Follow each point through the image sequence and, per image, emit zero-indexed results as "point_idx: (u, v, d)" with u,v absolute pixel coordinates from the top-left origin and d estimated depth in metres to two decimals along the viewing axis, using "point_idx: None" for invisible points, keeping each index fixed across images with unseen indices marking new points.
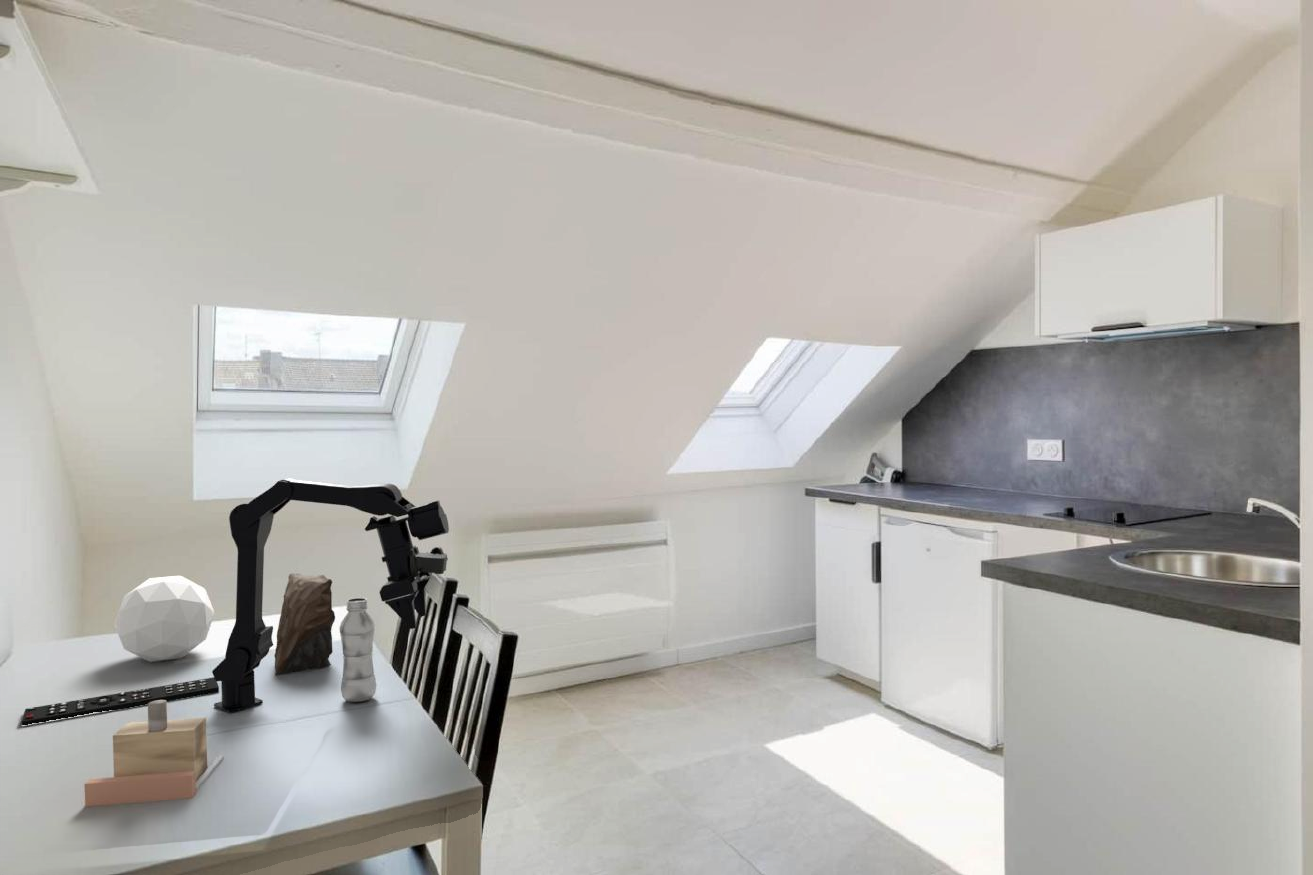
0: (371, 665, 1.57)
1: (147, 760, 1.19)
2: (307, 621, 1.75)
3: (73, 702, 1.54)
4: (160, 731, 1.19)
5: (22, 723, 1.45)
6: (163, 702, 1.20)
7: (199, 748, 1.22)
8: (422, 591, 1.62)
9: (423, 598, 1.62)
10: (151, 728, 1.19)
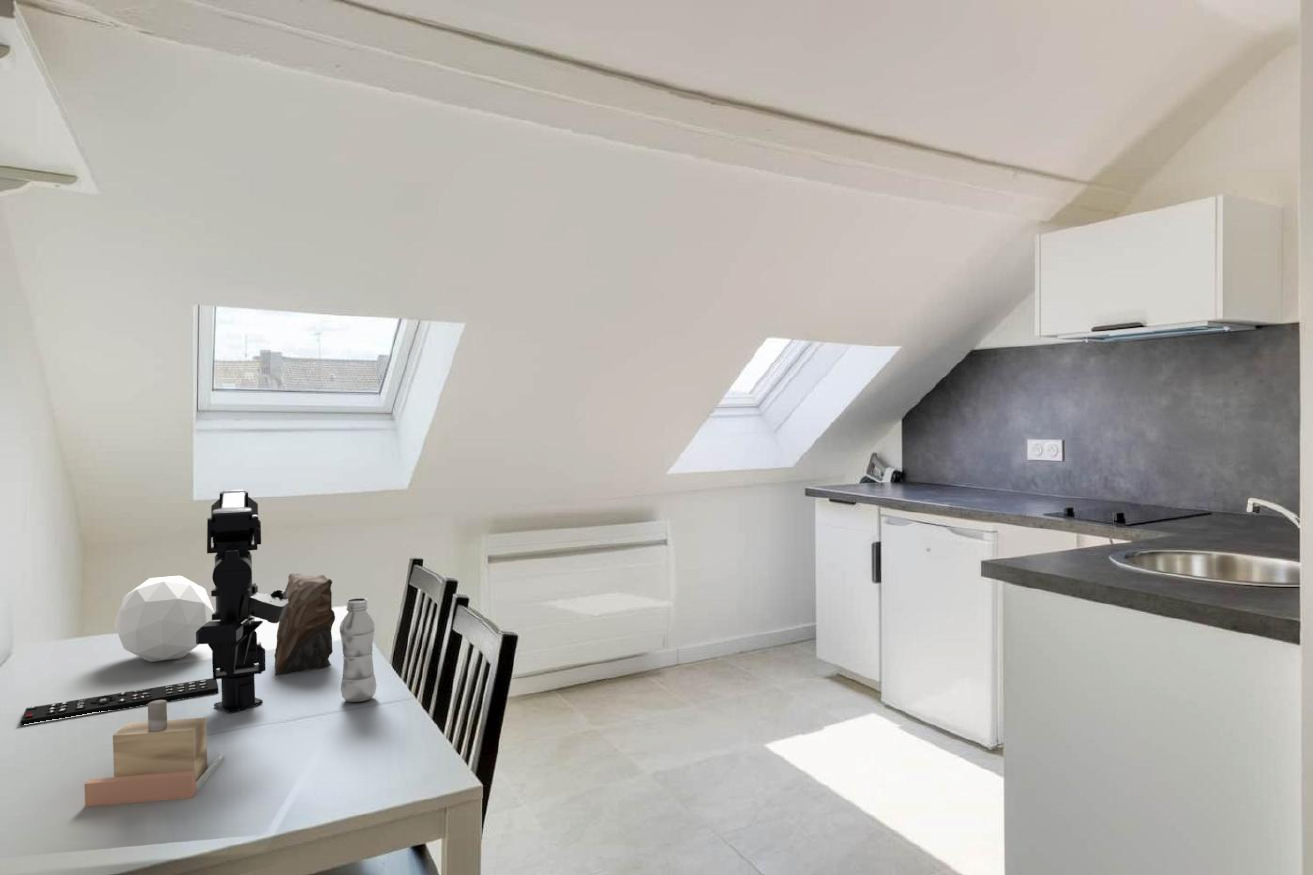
0: (371, 665, 1.57)
1: (147, 760, 1.19)
2: (307, 621, 1.75)
3: (74, 701, 1.54)
4: (160, 731, 1.19)
5: (22, 722, 1.45)
6: (163, 702, 1.20)
7: (199, 748, 1.22)
8: (247, 637, 1.42)
9: (246, 645, 1.42)
10: (151, 728, 1.19)
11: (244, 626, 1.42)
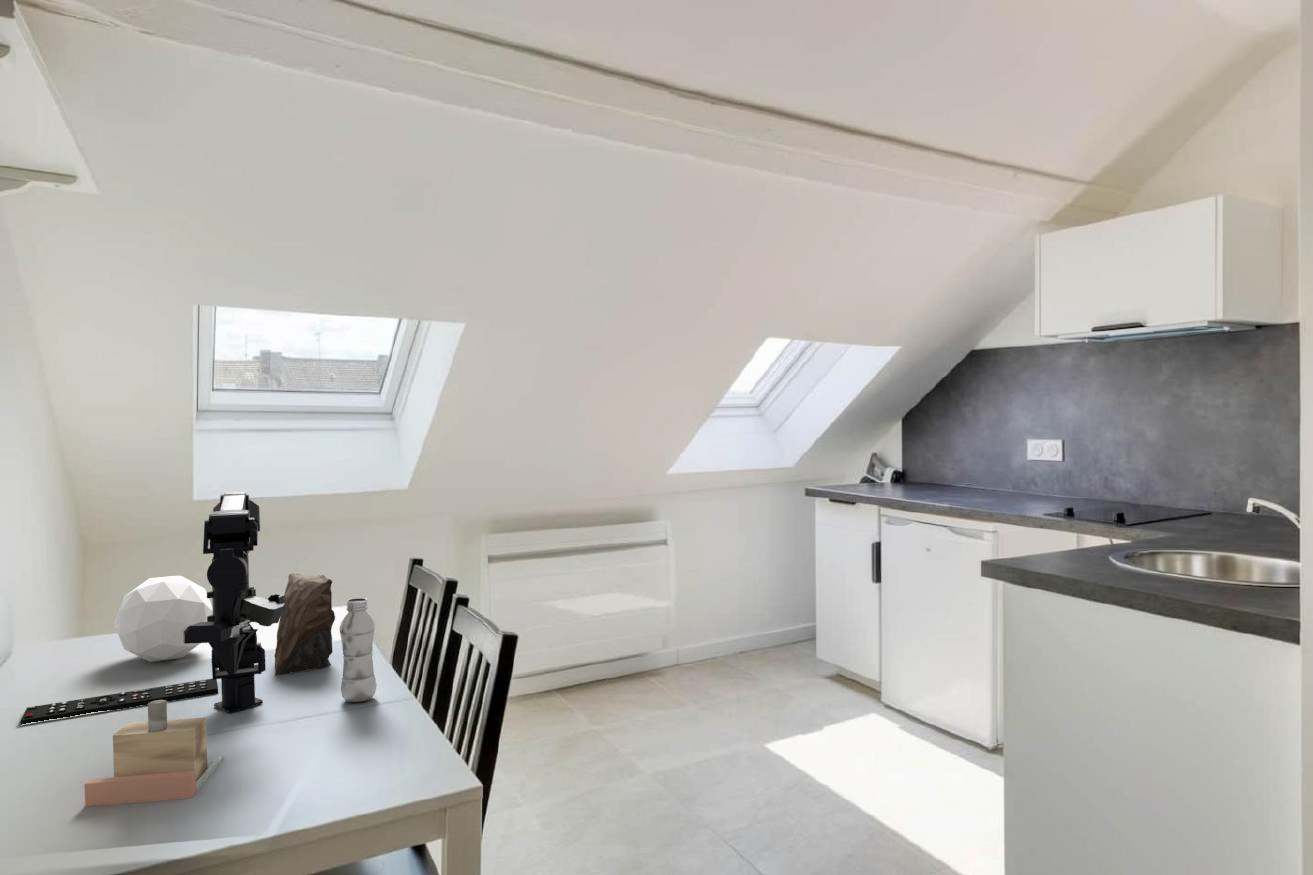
0: (371, 665, 1.57)
1: (147, 760, 1.19)
2: (307, 621, 1.75)
3: (74, 701, 1.55)
4: (160, 731, 1.19)
5: (21, 722, 1.45)
6: (163, 702, 1.20)
7: (199, 748, 1.22)
8: (239, 644, 1.39)
9: (238, 653, 1.39)
10: (151, 728, 1.19)
11: None
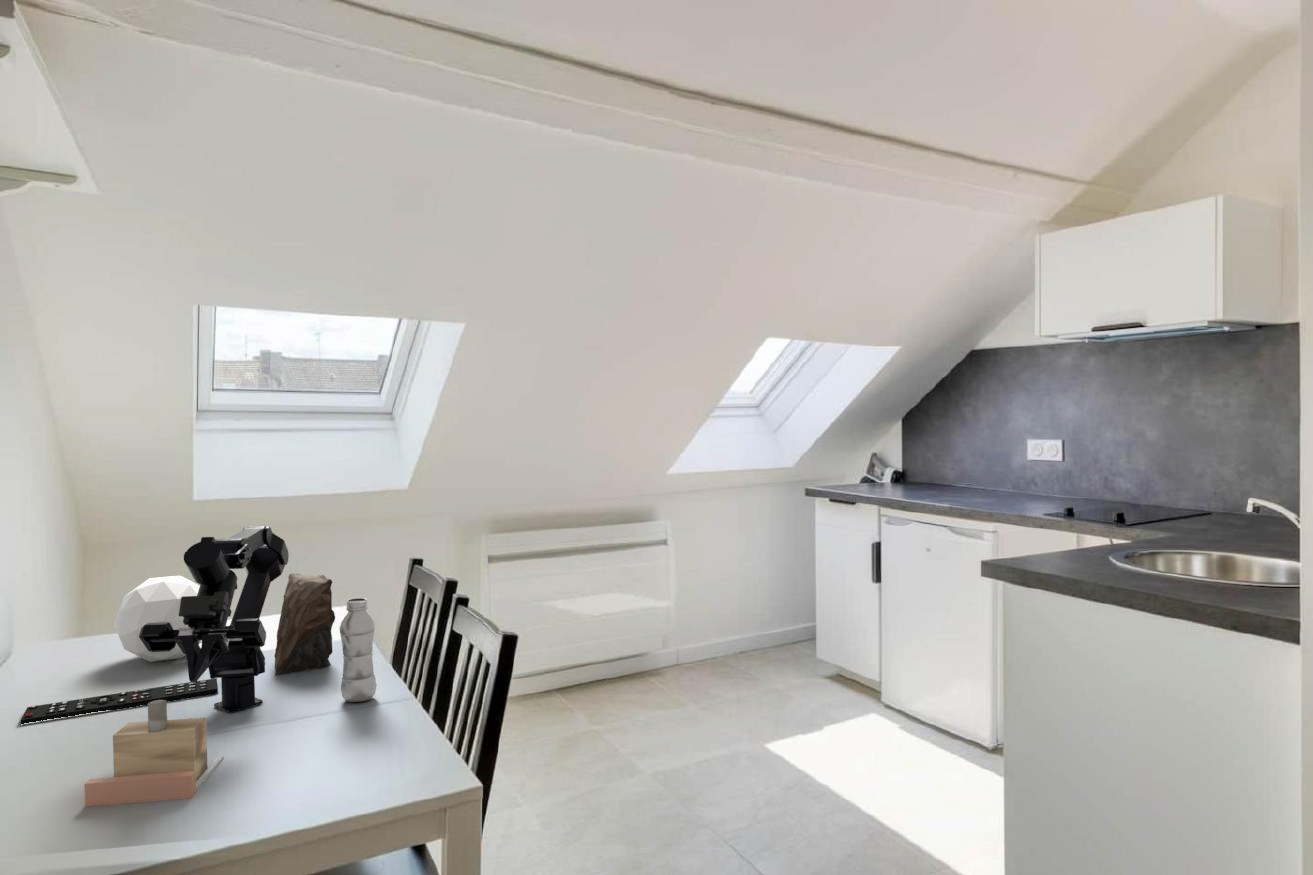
0: (371, 665, 1.57)
1: (147, 760, 1.19)
2: (307, 621, 1.75)
3: (74, 701, 1.55)
4: (160, 731, 1.19)
5: (21, 721, 1.45)
6: (163, 702, 1.20)
7: (199, 748, 1.22)
8: None
9: None
10: (151, 728, 1.19)
11: None
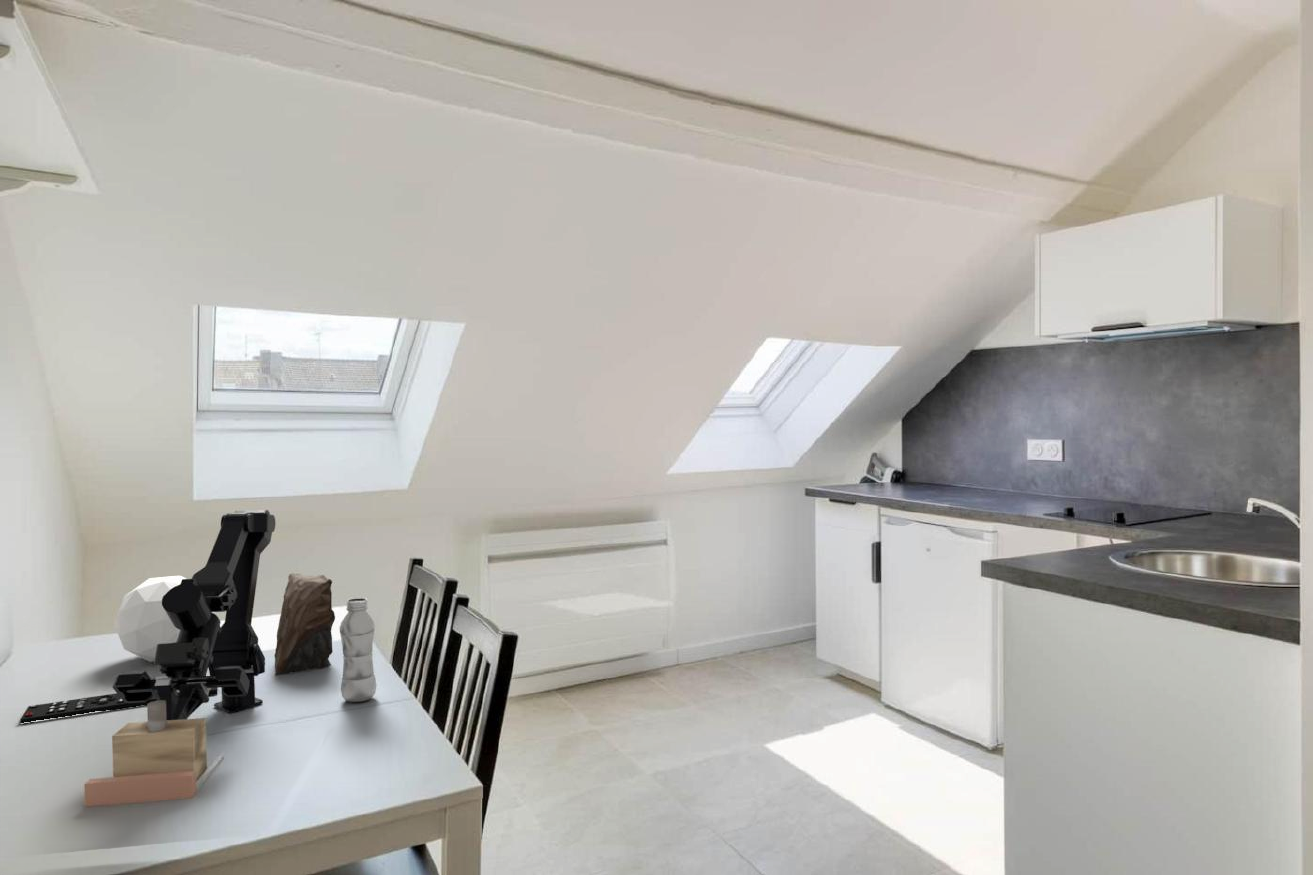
0: (371, 665, 1.57)
1: (147, 760, 1.19)
2: (307, 621, 1.75)
3: (75, 700, 1.55)
4: (159, 732, 1.19)
5: (21, 721, 1.46)
6: (162, 702, 1.20)
7: (199, 748, 1.22)
8: None
9: None
10: (150, 729, 1.19)
11: None
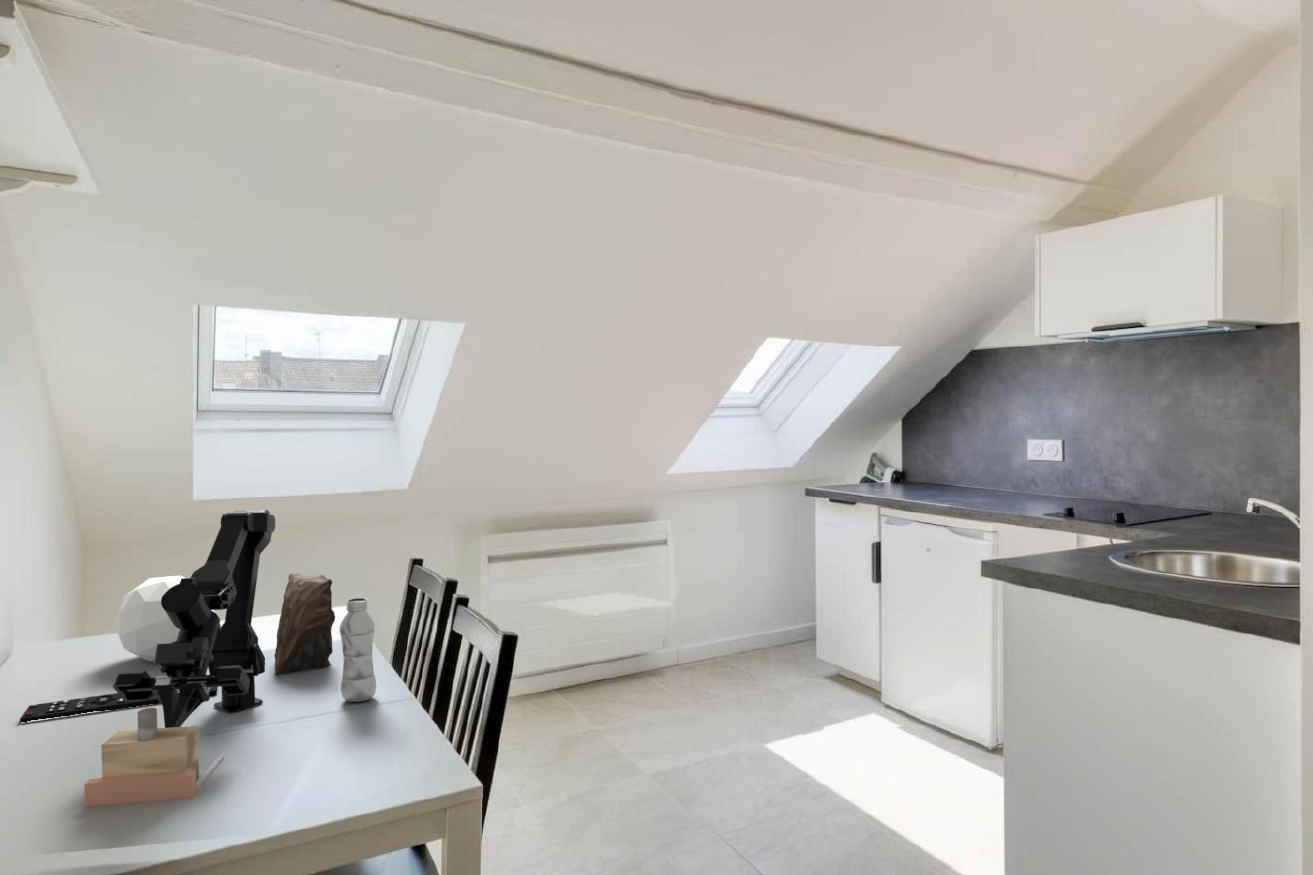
0: (371, 665, 1.57)
1: (137, 770, 1.15)
2: (307, 621, 1.75)
3: (76, 700, 1.55)
4: (150, 740, 1.16)
5: (21, 720, 1.46)
6: (153, 710, 1.17)
7: (190, 757, 1.19)
8: None
9: None
10: (141, 737, 1.16)
11: None
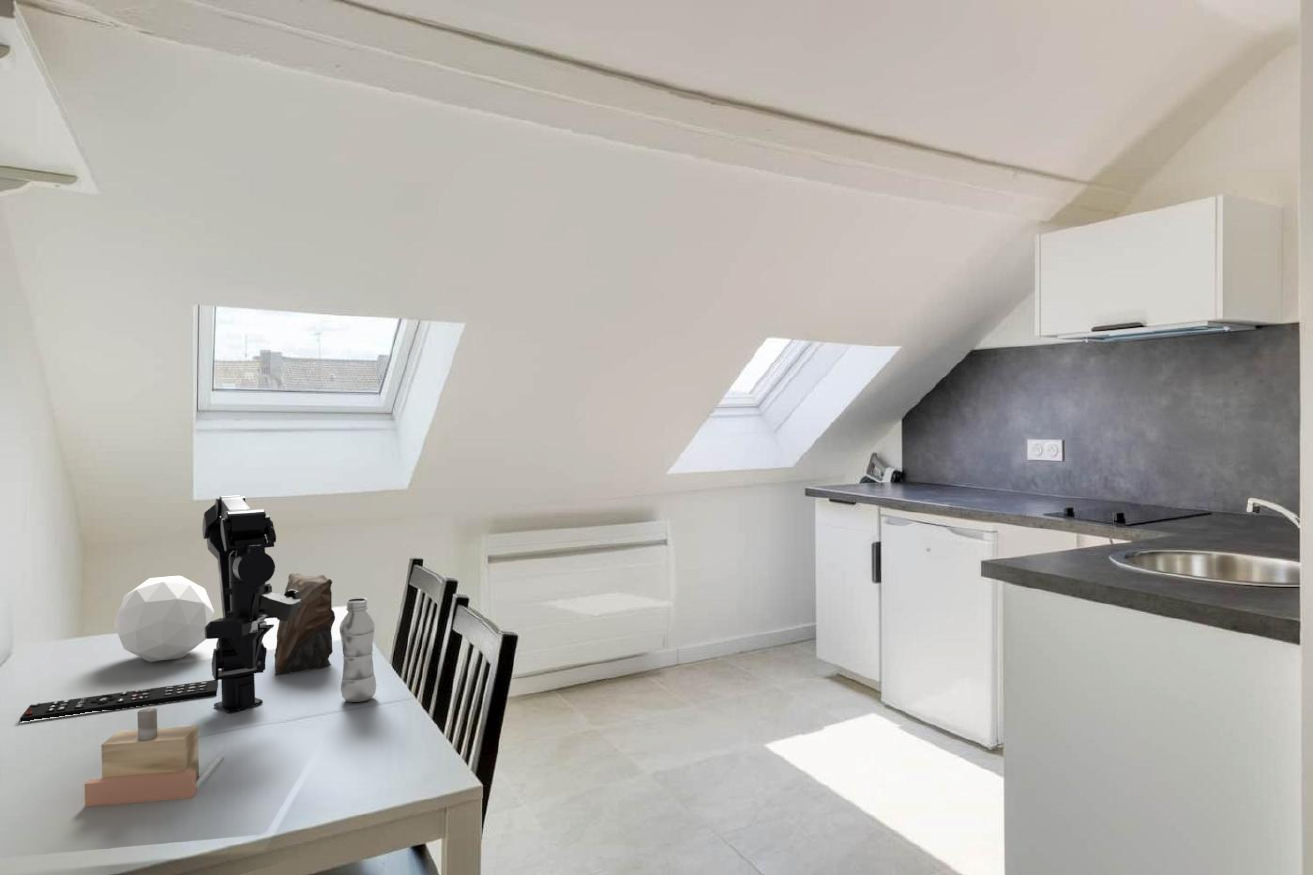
0: (371, 665, 1.57)
1: (137, 770, 1.15)
2: (307, 621, 1.75)
3: (76, 699, 1.55)
4: (150, 740, 1.16)
5: (21, 719, 1.46)
6: (153, 710, 1.17)
7: (190, 757, 1.19)
8: (257, 640, 1.42)
9: (256, 648, 1.42)
10: (141, 737, 1.16)
11: None
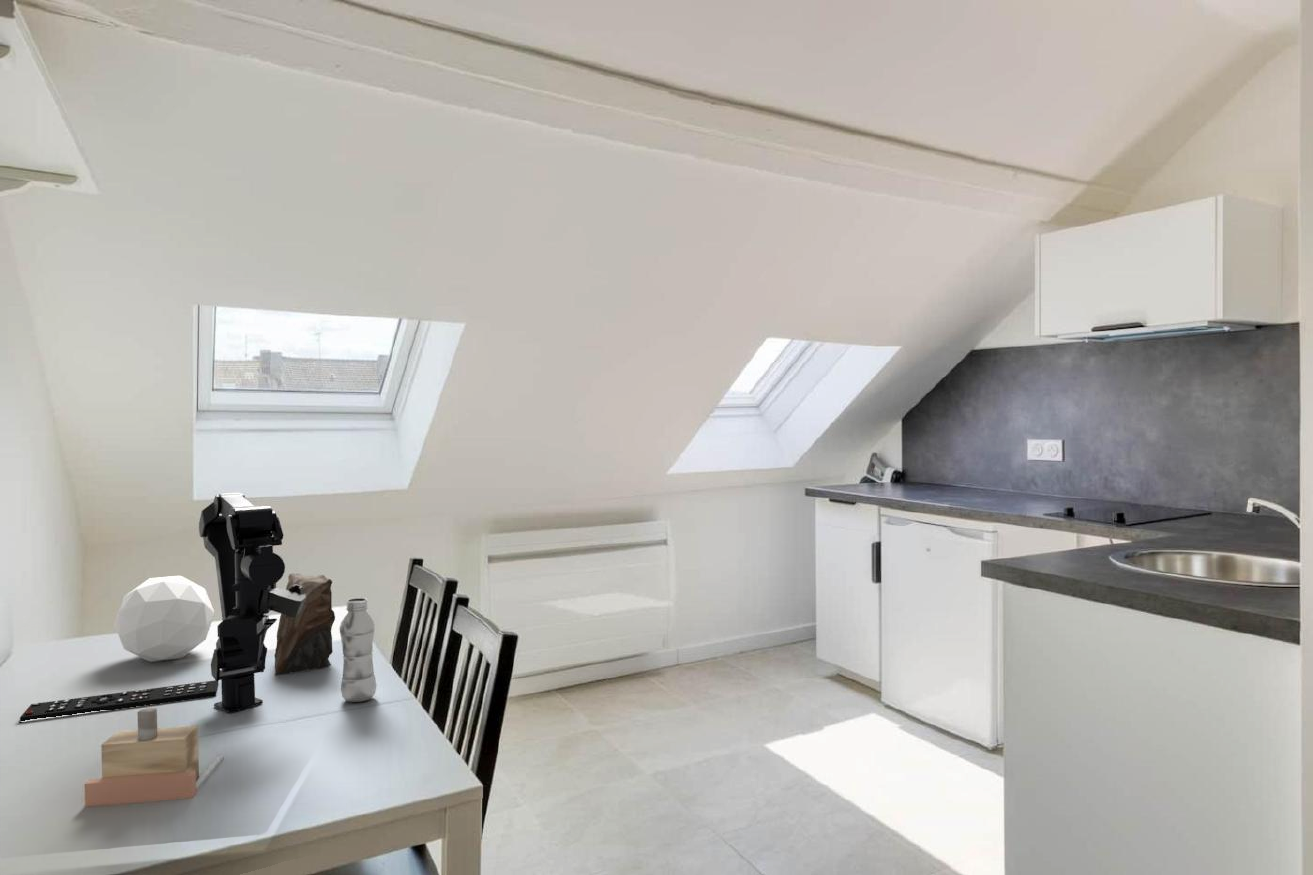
0: (371, 665, 1.57)
1: (137, 770, 1.15)
2: (307, 621, 1.75)
3: (77, 699, 1.56)
4: (150, 740, 1.16)
5: (21, 719, 1.47)
6: (153, 710, 1.17)
7: (190, 757, 1.19)
8: (261, 634, 1.44)
9: (261, 642, 1.44)
10: (141, 737, 1.16)
11: None
